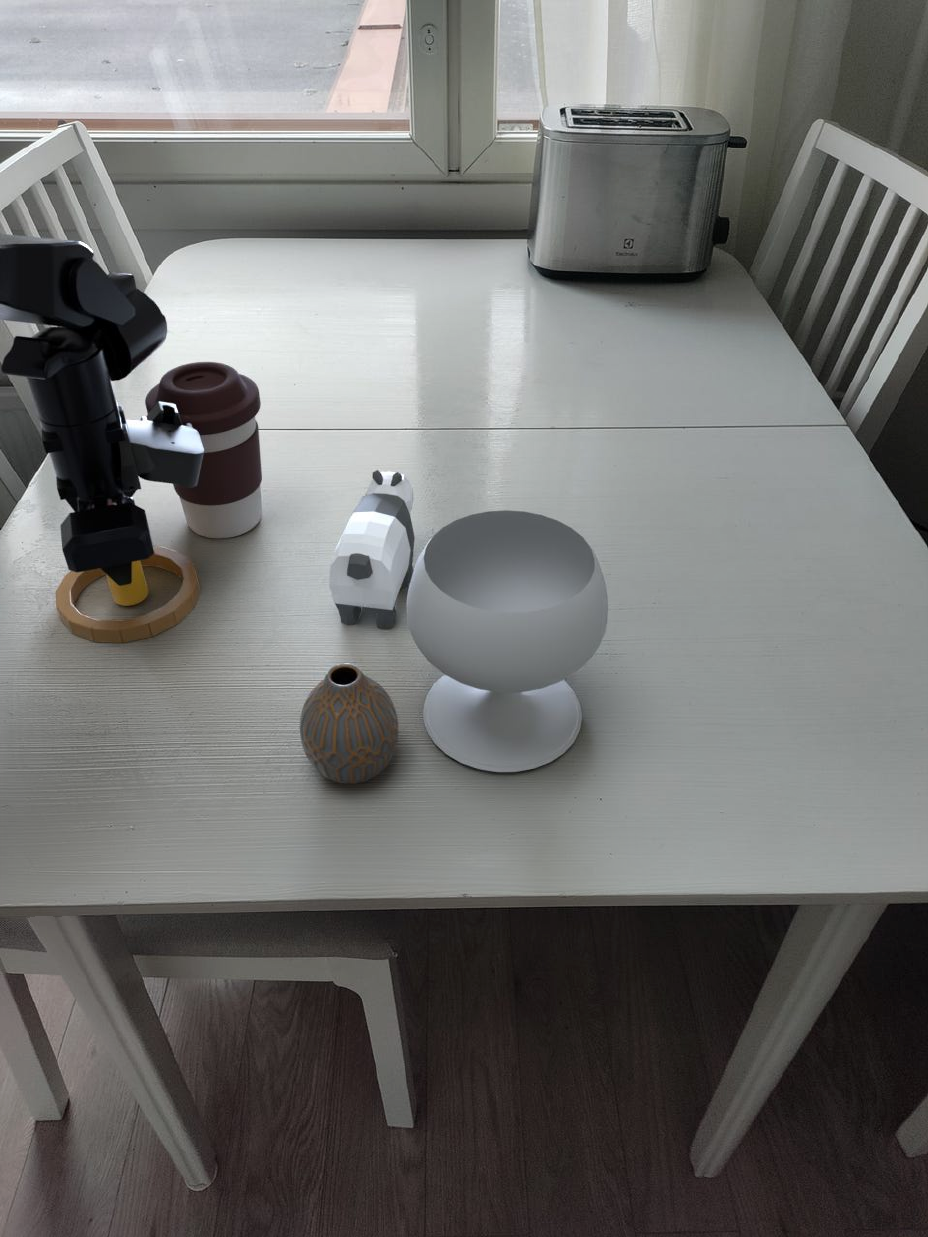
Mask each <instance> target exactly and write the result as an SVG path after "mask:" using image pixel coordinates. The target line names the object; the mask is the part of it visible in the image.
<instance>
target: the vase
mask: <svg viewBox="0 0 928 1237" xmlns="http://www.w3.org/2000/svg"><path fill="white" fill-rule="evenodd" d="M299 736H300V743H301V745H302V749H303V753H304V754H305V756H306V758H307V760H308V761H309V763H310V764H311V766H312V767H313V768H314V769H315V770H316V771H317V772H318V773H319V774H320V775H321V776H323V777H325V778H326V779H328V780H331V781H333V782H336V783H339V784H347V785H349V784H360V783H363V782H366V781H369V780H371V779H372V778H375V777H376V776H378V775H379V774H380V773H381V772H382V771H383V770H385V768H386V767H387V766H388V765H389V763H390V762H391V760H392V758H393V756H394V754H395V751H396V749H397V745H398V740H399V717H398V714H397V710H396V707H395V704H394V702H393V700H392V697H390V695H389V694H388V692H387V691H386V689H385V688H384V687H383V686H382V685H381V684H379V683H378V682H377V680H374V679H373V678H371V677H369V676H368V675H366V674H364V672H362V670H361V668H360V667H358V666H357V665H355V664H353V663H347V662H346V663H339V664H336V665H333V666H331V667H330V668H329V670H327V672H326V674H325V676H324V678H323V679H321V681H320V682H319V683H318V684H317V685H315V687H313V689H312V690H311V691H310V693H309V694H308V695H307V697H306V699H305V701H304V704H303V706H302V710H301V713H300V718H299Z"/></svg>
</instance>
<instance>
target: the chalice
mask: <svg viewBox="0 0 928 1237" xmlns="http://www.w3.org/2000/svg"><path fill="white" fill-rule="evenodd" d="M608 614H609V597H608V590H607V583H606V580H605V577H604V574H603V571H602V567H601V564H600V562H599V559H598V557H597V555H596V553H595V551H594V550H593V548H592V547H591V545H590V544H589V543H588V541H587V540H586V539H585V538H584V537H583V536H582V535H581V534H580V533H579V532H577V531H576V530H574V528H572V527H570V526H569V525H566V524H564V523H563V522H561V521H559V520H557V519H555V518H551V517H548V516H546V515H543V514H538V513H534V512H530V511H529V512H528V511H520V510H507V509H505V510H491V511H483V512H479V513H473V514H471V515H467V516H464V517H461V518H458V519H456V520H453V521H452V522H450V523H448V524H447V525H444V526H443V527H441V529H439V530H438V531H437V532H436V533H435V534H434V535H433V536H432V537H431V538H430V539H429V540H428V542H427V543H426V544H425V547H424V548H423V550H422V551H421V553H420V554H419V556H418V557H417V560H416V562H415V565H414V568H413V575H412V578H411V581H410V584H409V585H408V590H407V596H406V616H407V625H408V626H407V627H408V630H409V632H410V635H411V637H412V640H413V642H414V644H415V645H416V647H417V649H418V650H419V652H420V653H421V654H422V655H423V657H424V658H425V659H426V661H428V663H430V665H432V666H433V667H435V668H436V669H437V670H438V671H440V672H441V673H442V674H443V675H442V676H441V677H439V679H438V680H436V681H435V682H434V683H433V685H432V686H431V688H430V689H429V691H428V692H427V694H426V697H425V699H424V700H425V701H424V703H423V706H422V708H423V712H422V716H423V717H422V719H423V723H424V726H425V729H426V732H427V734H428V735H429V737H430V738H431V740H432V741H433V743H434V744H435V745H436V747H437V748H439V749H440V750H441V751H442V752H443V753H444V754H445V755H447V756H449V757H450V758H452V759H454V760H455V761H457V762H459V763H460V764H463V765H465V766H468V767H471V768H475V769H477V770H482V771H487V772H494V773H495V772H496V773H518V772H523V771H528V770H532V769H536V768H539V767H541V766H542V767H543V766H544V765H547V764H549V763H552V762H553V761H554V760H556V759H558V758H559V757H560V756H562V755H564V754H565V753H566V752H567V751H568V750H569V748H570V747H571V746H572V745H573V744H574V743H575V742H576V739H577V737H578V735H579V733H580V731H581V727H582V720H583V714H582V707H581V703H580V701H579V699H578V697H577V695H576V693H575V691H574V689H572V688H571V686H569V684H568V683H567V681H566V679H567V678H569V677H571V676H572V675H573V674H575V673H577V672H578V671H580V670H581V669H583V667H584V666H586V664H587V663H588V662H590V660H591V659H592V658H593V657H594V655H595V654H596V652H597V651H598V649H599V648H600V646H601V643H602V642H603V639H604V637H605V634H606V632H607V631H606V630H607V626H608V617H609V615H608Z"/></svg>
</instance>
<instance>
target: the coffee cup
mask: <svg viewBox="0 0 928 1237" xmlns="http://www.w3.org/2000/svg"><path fill="white" fill-rule="evenodd" d="M144 399H145V400H144V401H145V402H144V404H145V409H146V414H148V413H149V412H150V411H151V410H152V409H153V407H154V406H155V405H156V404H157V403H158V402H165V403H172V404H175V405H176V407H177V410H178V413H179V416H180V419H181V422H182V425H183V426H186V423H191V425H192V428H193V429H195V430H197V431H198V433H199V435H200V438H201V441H202V445H203V448H204V454H203V459H202V464H201V469H200V474H199V478H198V483H197V486H195V487H192V488H186V487H181V486H180V485H178V484H172V486H173V488H174V491H175V494H176V495H177V496H178V497H179V499H180V504H181V507H182V511H183V515H184V518H185V520H186V524H187V525H188V527H189V528H190V529H191V530H192V531H193V533H195V534H197V535H199V536H201V537H205V538H209V539H228V538H234V537H237V536H241V535H243V534H245V533H248V532H249V531H251V530H252V529H254V528H255V527H256V526H257V525H258V523H259V522H260V521H261V519H262V516H263V503H262V502H263V501H262V487H261V484H262V481H263V474H262V473H263V472H262V471H263V470H262V457H261V443H260V430H259V428H260V427H259V423H258V421H257V419H256V416H257V415H258V413H259V412H260V409H261V395H260V389H259V386H258V384H257V383H256V382H255V381H254V380H252V378H250V377H248V376H246V375H244V374H241V373H239V372H238V371H237V369H236V368H234V367H232V366H230V365H228V364H225V363H221V362H217V361H196V362H190V363H185V364H181V365H179V366H176V367H174V368H172V369H169V370H168V371H167V372H166V373H165V374H163V375H162V376H161V378H160V380H159V383H157V384H155V385H154V386H153V387H152V388H151V389H150V390H149V391H148V393H147V394H146V397H145V398H144Z"/></svg>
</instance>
